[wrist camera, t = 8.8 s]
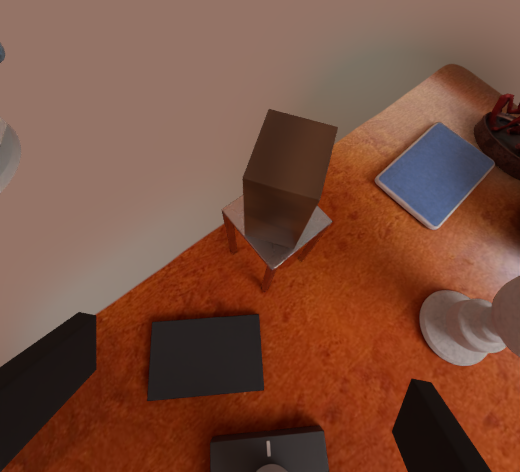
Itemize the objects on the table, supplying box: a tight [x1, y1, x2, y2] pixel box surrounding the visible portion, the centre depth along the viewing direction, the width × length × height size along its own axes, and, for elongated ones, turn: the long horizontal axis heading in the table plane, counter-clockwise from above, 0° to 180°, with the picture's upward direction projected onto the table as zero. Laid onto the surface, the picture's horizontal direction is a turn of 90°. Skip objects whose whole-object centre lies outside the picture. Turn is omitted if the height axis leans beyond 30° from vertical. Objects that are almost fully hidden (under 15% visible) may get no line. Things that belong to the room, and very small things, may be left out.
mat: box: [147, 314, 264, 401], centre depth 34 cm, size 14×9×1 cm, turn 94°
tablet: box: [375, 122, 495, 230], centre depth 46 cm, size 19×13×1 cm, turn 133°
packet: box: [243, 109, 338, 249], centre depth 22 cm, size 5×6×10 cm
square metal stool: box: [222, 195, 333, 292], centre depth 34 cm, size 8×8×14 cm
